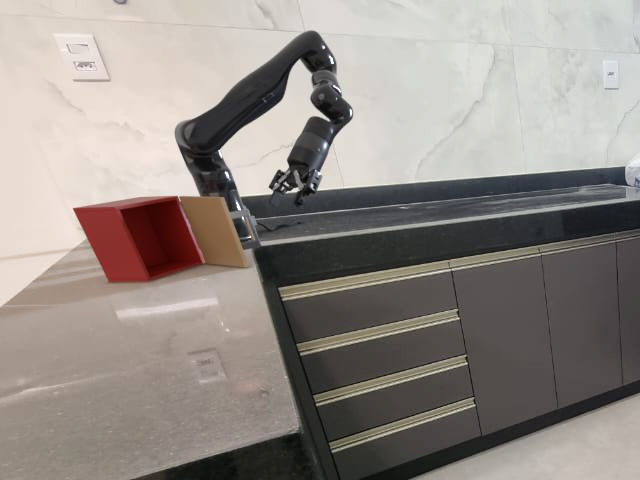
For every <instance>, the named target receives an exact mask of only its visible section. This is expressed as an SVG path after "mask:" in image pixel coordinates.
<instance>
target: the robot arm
mask: <svg viewBox="0 0 640 480" xmlns="http://www.w3.org/2000/svg"><path fill="white" fill-rule="evenodd" d="M298 61H300V62H301V63H302V65H303V66H304V68H305V69H306V70H307V71H308V73H310V74H311V77H310V83H311V88H312V92H311V94H310V97H309V100H310V103H311V104H312V106H313V107H314V108H315V109H316V110H317V111H318V112H319V113H320V114H322V115H323V116H324V117H325V118H327V119H328V120H327V119H325V118H323V117H321V116H317V115H312V116H310V117H308V119H307V121H306V123H305V125H304V127H303V129H302V131H301V133H299V136H298V137H297V138H296V140H295V142H294V144H293V146H292V148H291V150H290V152H289V154H288V156H287V158H286V162H287V164H288V168H287V169H286V170H285V171H283V170H282V169H277V170H276V172H275V174H274V175H273V178H272V179H271V181H270V183H269V185H268V188H269V189H270V190H271V191H272V194H271V196H270V197H269V200H268V204H270V205H271V206H272V207H274V208H278V207H279V205H280V204H281V201H282V200H283V197H284V195H285V194H286V193H287V192H291V191H293V190H294V189H298V190H296V193H295V195H294V198H293V200H292V201H291V202H292V204H293V205H294V206H295V207H296V208H302V207H303V206H304V203H305V202H306V200H307V197H309V196H310V195H311V194H312V195H315V194H316V193H317V191H318V189H319V187H320V184H321V182H322V179H323V174H322V173H320V172H321V170H322V169H323V166H324V164H325V162H326V159H327V157H328V155H329V152H330V149H331V147H332V144H333V143H334V140H335V138H336V136H337V135H338V134H339V133H340V132H341V131H342V130H343V128H345V127H346V126H347V125H348V124H349V123H350V122H351V121H352V120H353V118H354V108H353V106H352V105H351V104H350V103H349V102H348V101H347V100H346V99H344V97H343V93H342V88H341V86H340V83H339V80H338V63H337V59H336V57H335V55H334V54H333V52H332V50H331V48H329V46H328V45H327V43H326V41H325V40H324V39H323V37H322V35H321V34H320V33H319V32H318V31H316V30H313V29H312V30H306V31H303V32H301V33H300V34H298V35H297V36H295V37H294V38H293V39H292V40H291V41H289V42H288V43H287V44H286V45H285V46H284V47H283V48H281V50H279V51H278V52H277V53H276V54H275V55H273V57H271V58H270V59H269V60H267V61H266V62H265V63H263V64H262V65H260V66H259V67H257V68H256V69H255V70H253V71H252V72H251V71H250V73H248V74H247V75H245V77H243V78H242V79H240V80H239V81H238V82H236V83H235V84H234V85H233V86H232V87H231V89H229V91H227V93H226V94H225V95H224V96H223V98H222V99H221V100H220V101H219V102H218V103H217V104H216V105H214V106H213V107H212V108H210V109H208V110H206V111H205V112H203V113H202V114H200V115H198V116H196V117H194V118H189V119H184V120H182V121H180V122H179V123H177V125H176V126H175V127H174V131H173V132H174V133H173V134H174V139H175V142H176V144H177V147H178V149H179V153H180V154H181V157H182V159H183V161H184V164H185V166H186V168H187V171H188V172H189V173H190V175H191V177H192V180H193V183H194V185H195V187H196V190H197V192H198V195H199V196H203V197H224V199H225V202H226V205H227V207H228V210H229V211H235V210H241V209H248V208H247V205H246V204H243V201H242V198H241V196H240V193H239V189H238V187H237V184H236V181H235V179H234V176H233V172H232V170H231V169H230V168H229V166H228V165H227V163H226V161H225V159H224V157H223V154H222V151H221V149H222V148H223V147H224V146H225V145H226V144H227V143H228V142H229V141H230V140H231V139H232V138H233V137H234V136H235V135H236V134H237V133H238V132H239V131H240V130H241V129H243V128H244V127H247V126H248V125H249V124H251V123H253V122H254V121H256V120H257V119H259V118H260V117H262V116H263V115H264V114H266V113H268V112H269V111H271V110H272V109H274V108H275V107H276V106H277V105H278V104H279V103H281V102H282V100H284V98H285V95H286V91H287V87H288V83H289V82H288V81H289V78H290V75H291V72H292V70H293V68H294V66H295V65H296V64H297V63H298ZM251 217H252V220H253V223H254V225H255V227H256V226H258V225H259V226H262V227H263V228H264V229H266V230H267V231H270V232H272V231H274V230H275V229H279V228H287V227H292V226H294V225H295V224H296V223H298V224H300V225H301V224H303V222H302V221H301V220H300V219H297V218H296V219H294V220H292V221H291V222H289V223H283V224H276V225H273V226H271V227H269V226H268V225H267V224H266V223H264V222H262V221H259V220H257V219H256V217H255V215H251ZM232 221H233V224H234V226H235V229H236V232H237V234H238V237H239V240H240V242H245V241H250V240H251V237H250V234H249V231H248V229H247V226H246V223H245V220H244V217H241V218H236V219H232Z"/></svg>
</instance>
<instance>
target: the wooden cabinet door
mask: <svg viewBox="0 0 640 480" xmlns="http://www.w3.org/2000/svg"><path fill="white" fill-rule="evenodd" d="M178 198H179V200H180V203H181V205H182V207H183V210H184V212H185V215H186V217H187V220H188V222H189V224H190V227H191V230H192V232H193V235H194V237H195V239H196V242H197V244H198V247H199V249H200V252H201V254H202V257H203V259H204V262H205V264H208V265H218V266H228V267H236V268H244V269H245V268H249V267H250V264H249V261H248V259H247V256H246V253H245V251H247V250H250V249H256V248H259V247H262V243H261V239H260V237H259V234H258V231H257V229H256V226H255V225H254V223H253V220H252V217H251V216H252V214H251V212H250V209H249V208H247V209H241V210H235V211H229V210H228V207H227V205H226V202H225V199H224V197H203V196H200V195H199V196H197V195H194V196H193V195H180V196H179V195H178ZM241 217H244V220H245V223H246V226H247V229H248V231H249V234H250V237H251V239H250V240H245V241H240V240H239V237H238V234H237V232H236V229H235V226H234V224H233V221H232V219H236V218H241Z"/></svg>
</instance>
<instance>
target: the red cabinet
mask: <svg viewBox="0 0 640 480" xmlns="http://www.w3.org/2000/svg"><path fill="white" fill-rule="evenodd" d="M72 210H73V213H74V214H75V217H76V219H77V221H78V222H79V225H80V226H81V228H82V231H83V232H84V235H85V237H86V238H87V240H88V243H89V245H90V248H91V249H92V251H93V254H94V255H95V257H96V259H97V261H98V263H99V265H100V267H101V269H102V271H103V273H104V275H105V277H106V279H107V281H108V283H138V282H139V283H142V282H144V283H145V282H151V281H155V280H157V279H161V278H164V277H167V276H170V275H173V274H177V273H179V272H183V271H186V270H188V269H192V268H195V267H198V266H201V265H204V264H206V262H205V260H204V257H203V255H202V252H201V250H200V248H199V245H198V243H197V240H196V238H195V235H194V233H193V230H192V228H191V225H189V224H190V223H189V220H188V218H187V215H186V213H185V211H184V208H183V206H182V203H181V201H180V198H179V195H157V196H156V195H155V196H154V195H153V196H138V197H130V198H125V199H119V200H113V201H108V202H101V203H95V204H89V205H83V206H77V207H76V206H75V207H72Z"/></svg>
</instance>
